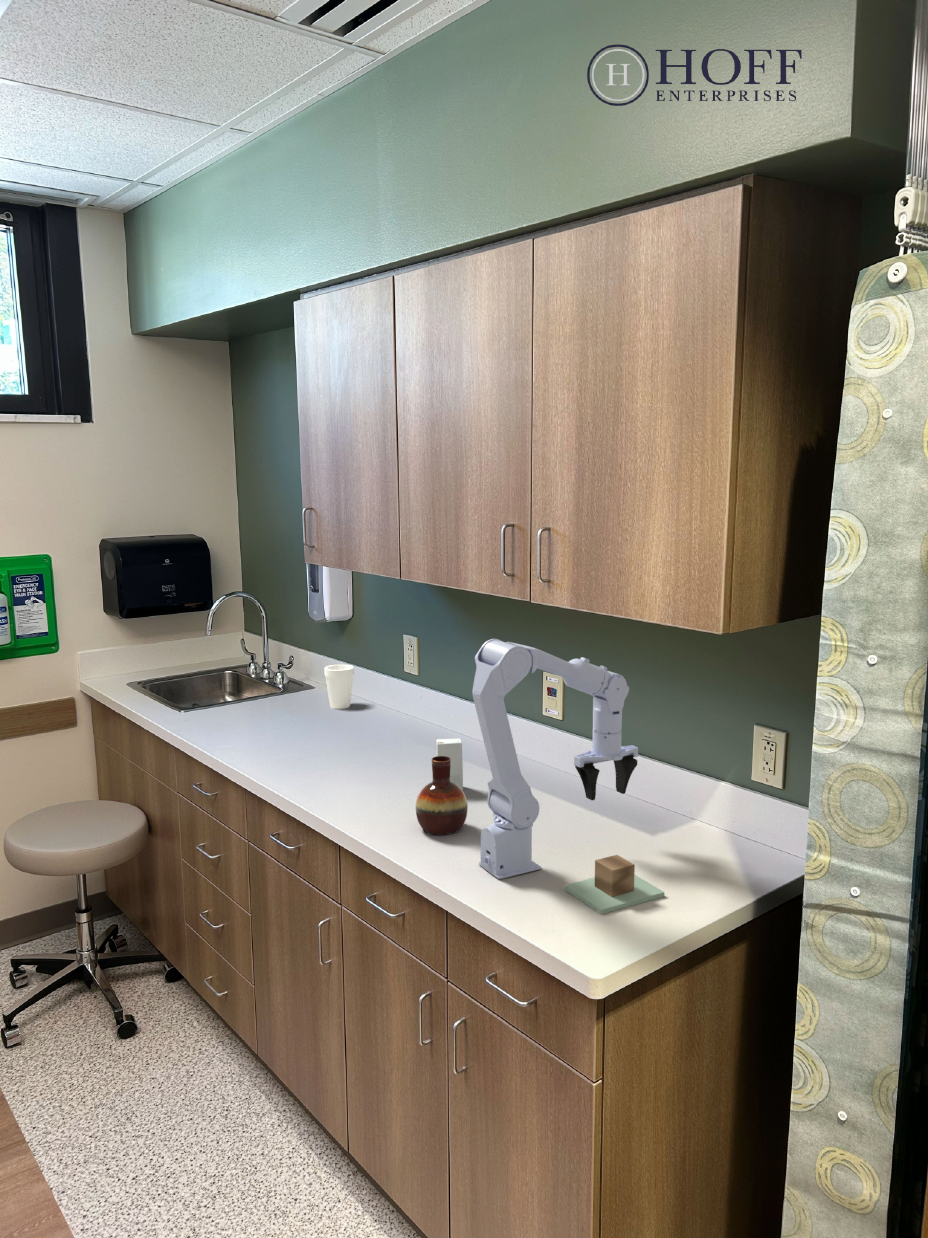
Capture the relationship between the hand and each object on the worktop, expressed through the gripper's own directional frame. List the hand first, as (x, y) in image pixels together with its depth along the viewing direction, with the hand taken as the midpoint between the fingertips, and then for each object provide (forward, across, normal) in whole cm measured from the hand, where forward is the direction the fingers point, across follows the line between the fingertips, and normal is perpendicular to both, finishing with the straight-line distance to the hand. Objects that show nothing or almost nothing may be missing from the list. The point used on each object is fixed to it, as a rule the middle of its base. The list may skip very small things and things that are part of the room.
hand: (605, 795), depth 186 cm
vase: (+11, -25, +24) cm, 36 cm away
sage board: (+10, -12, -18) cm, 24 cm away
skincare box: (+11, -12, +45) cm, 48 cm away
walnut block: (+10, -12, -18) cm, 24 cm away
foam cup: (+11, -6, +133) cm, 134 cm away
